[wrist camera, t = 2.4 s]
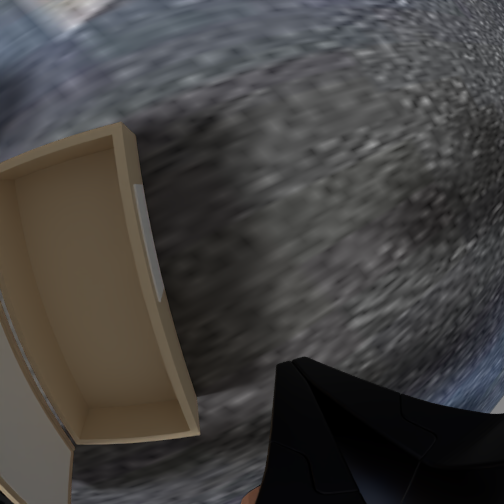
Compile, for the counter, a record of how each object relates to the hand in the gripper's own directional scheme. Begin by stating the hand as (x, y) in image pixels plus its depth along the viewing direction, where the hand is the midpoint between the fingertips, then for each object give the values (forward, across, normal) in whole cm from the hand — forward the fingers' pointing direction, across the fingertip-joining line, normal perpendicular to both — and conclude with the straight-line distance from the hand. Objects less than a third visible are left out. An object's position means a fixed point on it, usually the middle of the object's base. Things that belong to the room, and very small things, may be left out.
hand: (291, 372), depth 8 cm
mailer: (+11, +9, 0) cm, 14 cm away
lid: (+3, +13, 0) cm, 13 cm away
